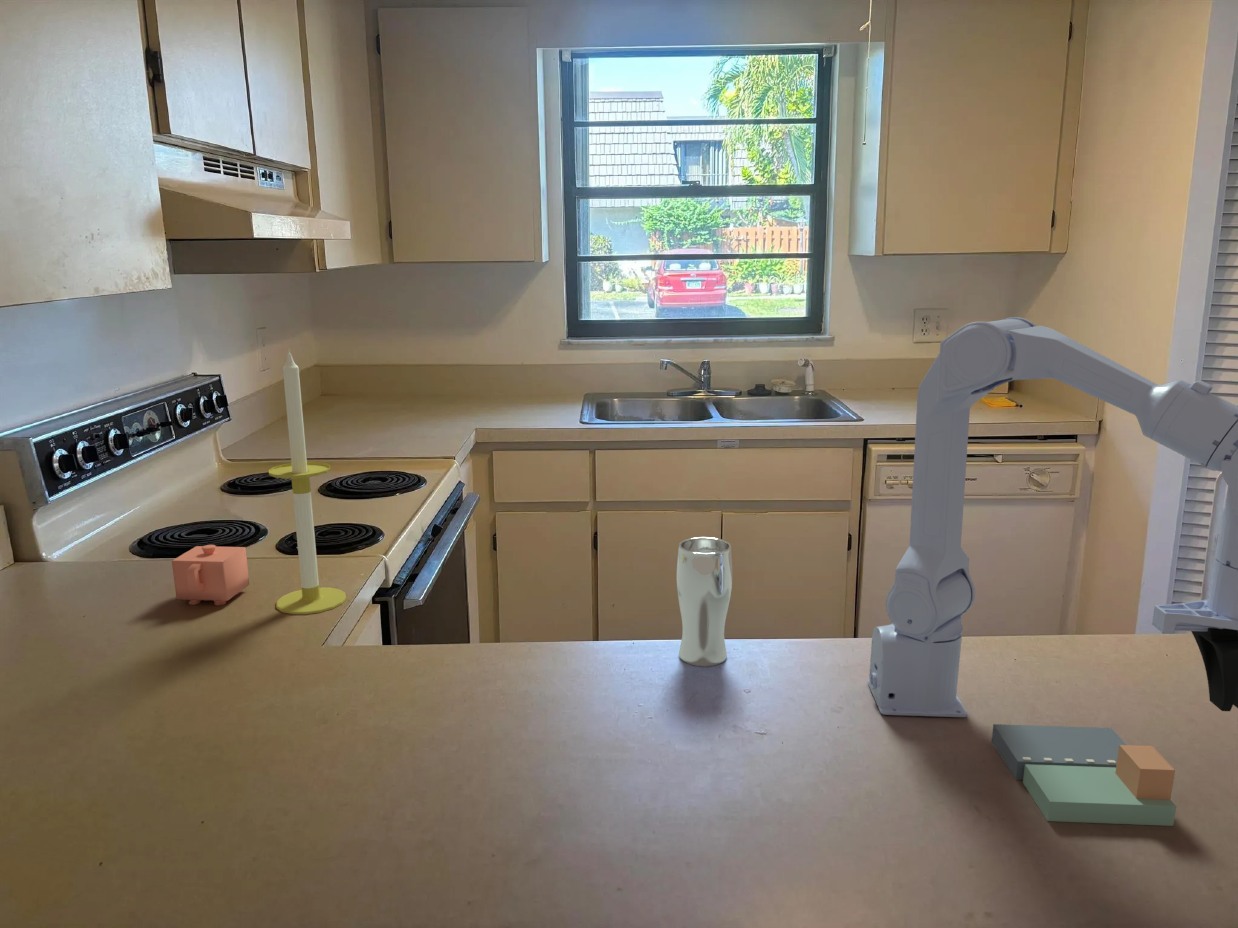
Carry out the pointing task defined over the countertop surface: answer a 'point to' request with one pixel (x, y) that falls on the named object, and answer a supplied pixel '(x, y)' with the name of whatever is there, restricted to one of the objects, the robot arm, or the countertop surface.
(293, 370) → the candle
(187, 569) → the pink cube teapot
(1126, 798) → the pale green flat slab
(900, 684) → the robot arm
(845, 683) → the countertop surface
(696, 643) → the beer glass
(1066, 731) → the white-dotted slate slab
